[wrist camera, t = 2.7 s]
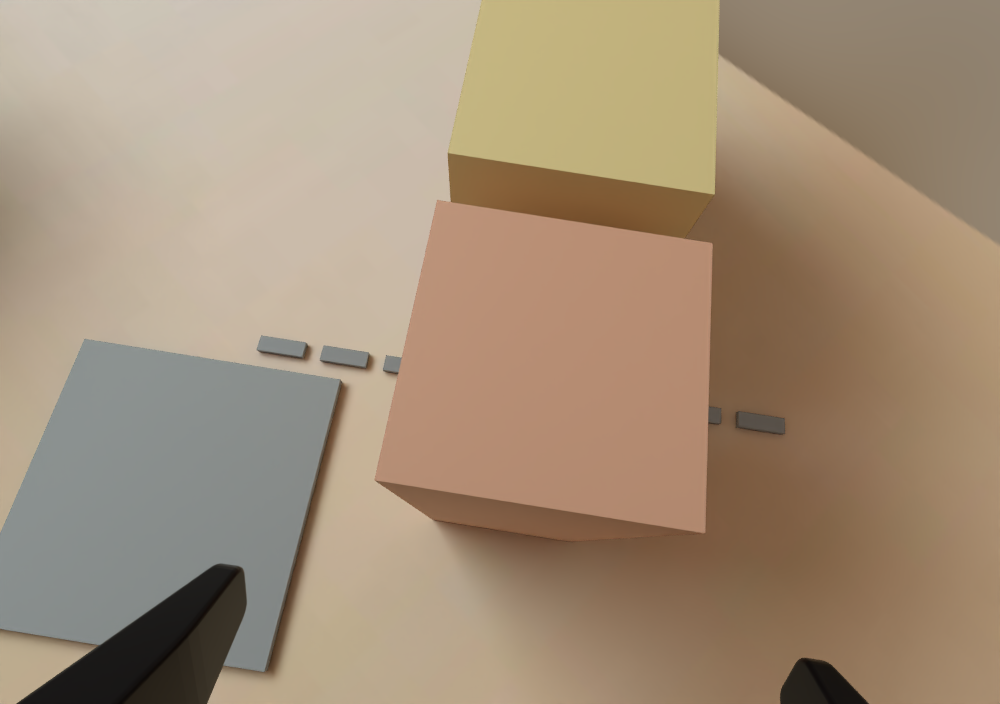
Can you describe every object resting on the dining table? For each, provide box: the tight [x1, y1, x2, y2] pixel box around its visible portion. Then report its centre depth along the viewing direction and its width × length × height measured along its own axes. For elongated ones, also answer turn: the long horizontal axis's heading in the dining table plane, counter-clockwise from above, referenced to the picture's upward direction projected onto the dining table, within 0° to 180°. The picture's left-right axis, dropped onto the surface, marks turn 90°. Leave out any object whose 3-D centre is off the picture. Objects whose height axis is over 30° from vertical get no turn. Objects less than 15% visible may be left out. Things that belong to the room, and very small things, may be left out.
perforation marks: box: [257, 336, 785, 434], centre depth 22 cm, size 1×21×1 cm, turn 81°
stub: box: [375, 200, 713, 542], centre depth 15 cm, size 5×5×12 cm
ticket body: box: [448, 0, 719, 239], centre depth 19 cm, size 14×5×12 cm, turn 171°
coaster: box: [0, 339, 342, 672], centre depth 20 cm, size 10×10×1 cm
